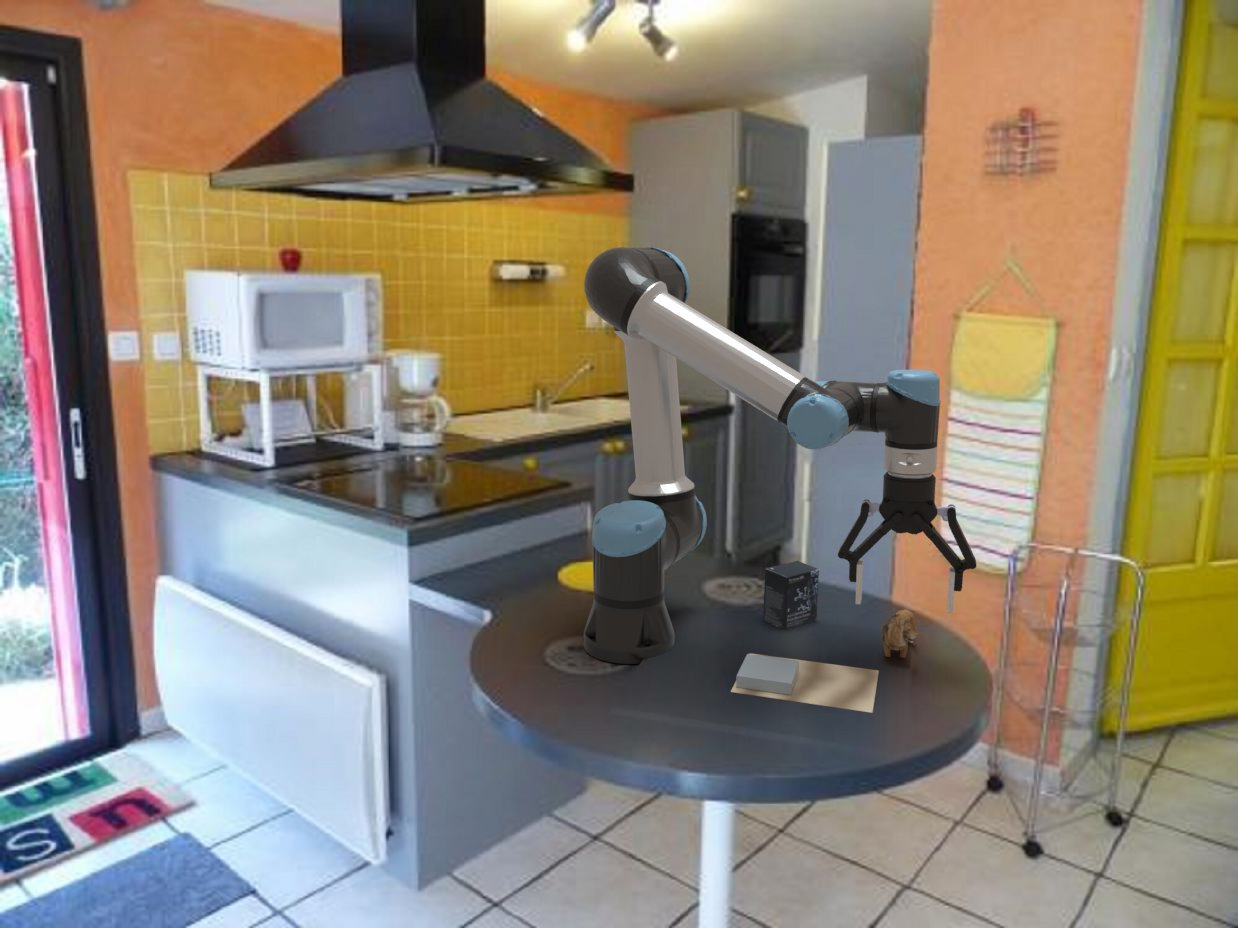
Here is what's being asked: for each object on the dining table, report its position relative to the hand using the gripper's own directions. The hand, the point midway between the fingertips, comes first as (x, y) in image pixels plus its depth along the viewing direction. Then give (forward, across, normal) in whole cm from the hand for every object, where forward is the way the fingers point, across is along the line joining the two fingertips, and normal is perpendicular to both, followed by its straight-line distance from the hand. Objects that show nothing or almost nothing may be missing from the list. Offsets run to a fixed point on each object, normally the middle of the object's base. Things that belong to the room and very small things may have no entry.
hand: (903, 605), depth 141 cm
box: (+10, -19, +10) cm, 24 cm away
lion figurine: (+10, 0, +3) cm, 10 cm away
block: (+7, -18, -10) cm, 22 cm away
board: (+9, -13, -13) cm, 21 cm away
